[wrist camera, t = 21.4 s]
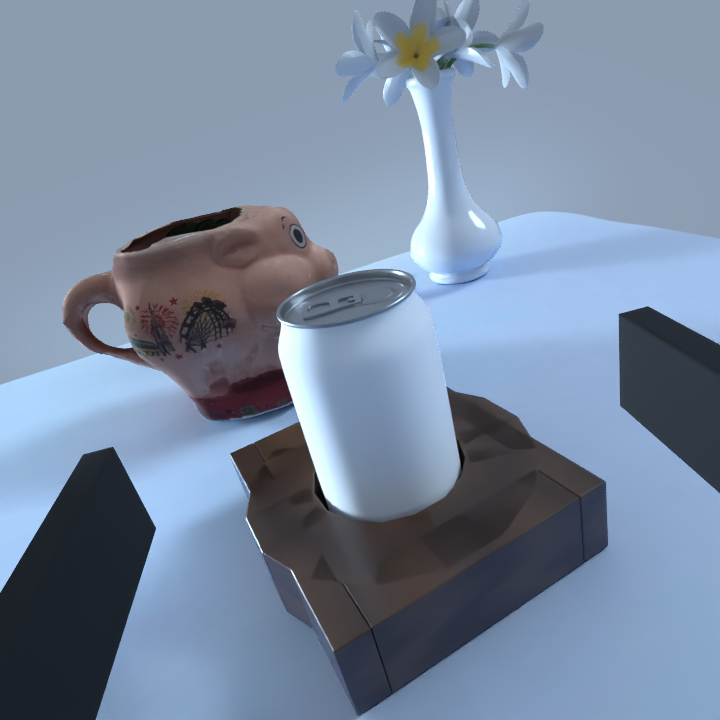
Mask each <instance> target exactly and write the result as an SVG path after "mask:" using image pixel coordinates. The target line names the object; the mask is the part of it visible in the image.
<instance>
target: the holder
mask: <svg viewBox="0 0 720 720" xmlns="http://www.w3.org/2000/svg"><path fill="white" fill-rule="evenodd" d="M446 388H447V393H448V399H449V404H450V409H451V415H452V420H453V426H454V431H455V437H456V442H457V447H458V453H459V458H460V464H461V470H462V475H461V479H460V480H459V481H458V482H457V483H456V485H455V486H454V487H453V488H452V489H451V490H450V492H449V493H448V494H447V495H446V496H445V497H444V498H442V499H441V500H439V501H437V502H435V503H434V504H432V505H430V506H428V507H427V508H425V509H423V510H421V511H419V512H418V513H416V514H414V515H410V516H405V517H401V518H397V519H392V520H388V521H384V522H370V521H354V520H348V519H345V518H343V517H341V516H339V515H337V514H334V513H332V512H330V511H329V508H328V505H327V502H326V499H325V497H324V494H323V491H322V488H321V485H320V482H319V479H318V476H317V473H316V469H315V466H314V463H313V460H312V457H311V454H310V451H309V448H308V445H307V442H306V439H305V436H304V433H303V430H302V427H301V424H300V422H298V423H296V424H294V425H291V426H289V427H287V428H285V429H283V430H281V431H278V432H276V433H274V434H272V435H270V436H268V437H265V438H263V439H261V440H259V441H257V442H255V443H254V444H250V445H248V446H246V447H244V448H241V449H239V450H237V451H235V452H233V453H231V454H230V457H231V459H232V462H233V464H234V467H235V469H236V471H237V474H238V476H239V479H240V481H241V484H242V486H243V488H244V491H245V493H246V496H247V498H248V500H249V502H248V508H247V514H246V520H247V523H248V525H249V527H250V530H251V532H252V534H253V537H254V539H255V541H256V544H257V546H258V548H259V551H260V553H261V555H262V558H263V560H264V563H265V565H266V567H267V570H268V572H269V574H270V576H271V578H272V581H273V583H274V585H275V587H276V589H277V591H278V593H279V595H280V598H281V600H282V602H283V604H284V606H285V608H286V610H287V611H288V612H289V613H291V614H292V615H294V616H295V617H297V618H298V619H300V620H301V621H303V622H304V623H306V624H307V625H308V626H310V627H311V628H313V629H314V631H315V633H316V635H317V637H318V639H319V641H320V643H321V644H322V646H323V648H324V650H325V652H326V654H327V656H328V658H329V660H330V662H331V664H332V666H333V668H334V670H335V672H336V674H337V676H338V678H339V680H340V682H341V684H342V686H343V688H344V690H345V692H346V694H347V696H348V698H349V700H350V702H351V704H352V706H353V707H354V709H355V711H356V713H357V715H361V714H362V713H364V712H365V711H367V710H368V709H370V708H371V707H373V706H374V705H376V704H377V703H379V702H380V701H382V700H383V699H384V698H386V697H387V696H389V695H390V694H391V693H392V692H395V691H396V690H398V689H399V688H401V687H402V686H404V685H405V684H406V683H408V682H409V681H411V680H412V679H414V678H415V677H417V676H418V675H420V674H421V673H423V672H424V671H426V670H427V669H428V668H430V667H431V666H433V665H434V664H436V663H437V662H439V661H440V660H442V659H443V658H445V657H446V656H448V655H449V654H450V653H452V652H453V651H455V650H456V649H458V648H459V647H461V646H462V645H464V644H465V643H467V642H468V641H469V640H471V639H472V638H474V637H475V636H477V635H478V634H480V633H481V632H483V631H484V630H486V629H487V628H489V627H490V626H491V625H493V624H494V623H496V622H497V621H499V620H500V619H502V618H503V617H505V616H506V615H508V614H509V613H511V612H512V611H513V610H515V609H516V608H518V607H519V606H521V605H522V604H524V603H525V602H527V601H528V600H530V599H531V598H533V597H534V596H535V595H537V594H538V593H540V592H541V591H543V590H544V589H546V588H547V587H549V586H550V585H552V584H553V583H554V582H556V581H557V580H559V579H560V578H562V577H563V576H565V575H566V574H568V573H569V572H571V571H572V570H574V569H575V568H576V567H578V566H579V565H581V564H582V563H583V561H586V560H588V559H589V558H591V557H592V556H594V555H595V554H597V553H598V552H600V551H601V550H603V549H604V548H606V547H607V546H608V530H607V501H606V482H605V481H604V480H602V479H601V478H599V477H597V476H596V475H594V474H592V473H591V472H589V471H587V470H586V469H584V468H582V467H581V466H579V465H577V464H576V463H574V462H572V461H570V460H569V459H567V458H565V457H564V456H562V455H560V454H559V453H557V452H555V451H554V450H552V449H550V448H549V447H547V446H545V445H544V444H542V443H540V442H539V441H537V440H535V439H534V438H532V437H531V436H530V435H529V433H528V432H527V430H526V429H525V427H524V426H523V424H522V423H521V421H520V420H519V418H518V417H517V416H515V415H514V414H512V413H510V412H508V411H506V410H505V409H503V408H501V407H499V406H498V405H496V404H494V403H492V402H491V401H489V400H487V399H485V398H482V397H478V396H473V395H468V394H463V393H458V392H455V391H453V390H451V389H450V388H448V387H446ZM391 691H392V692H391Z"/></svg>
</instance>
